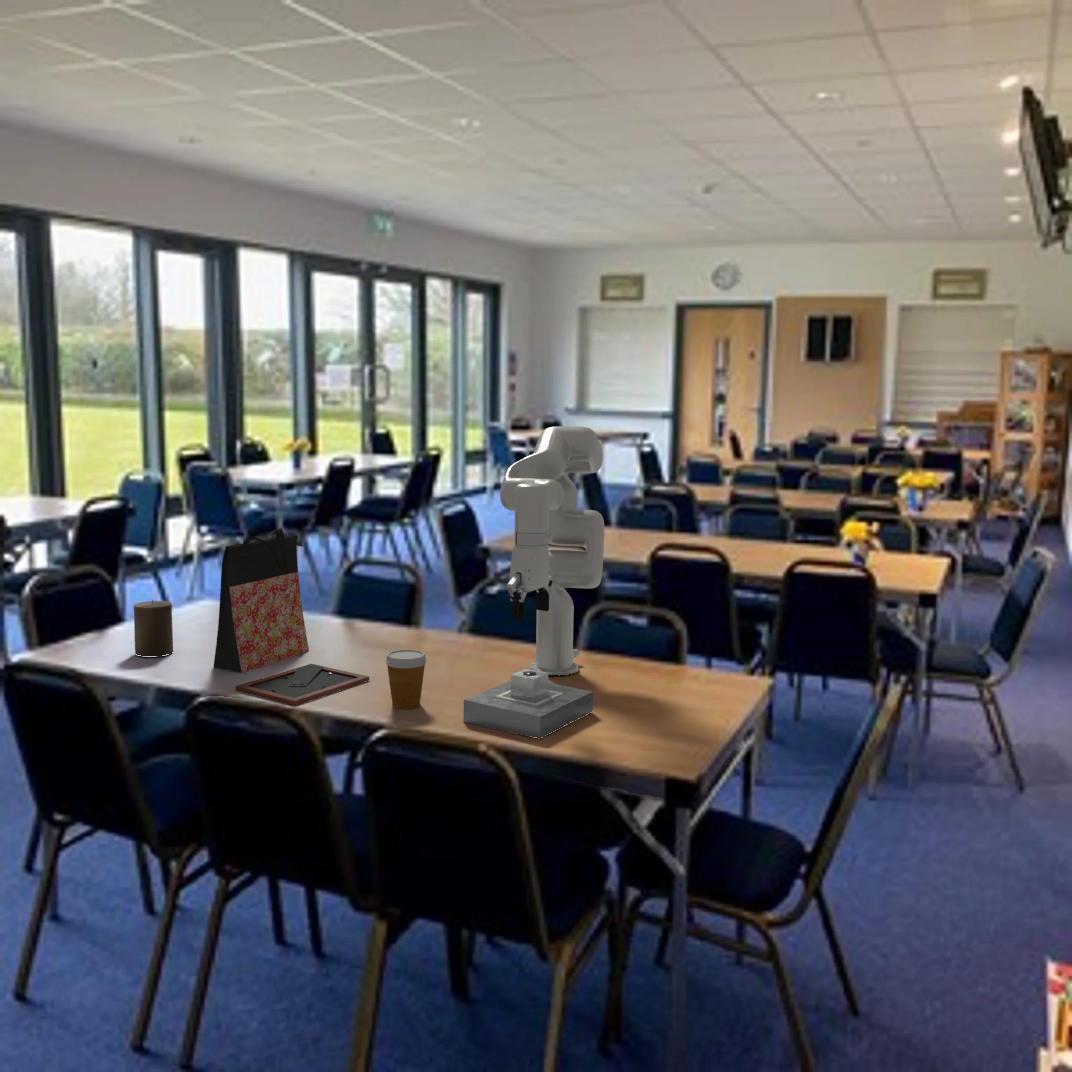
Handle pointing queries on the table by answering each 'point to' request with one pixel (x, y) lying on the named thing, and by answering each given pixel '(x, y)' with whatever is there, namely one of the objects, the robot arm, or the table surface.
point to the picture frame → (301, 684)
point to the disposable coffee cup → (406, 677)
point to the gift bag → (260, 604)
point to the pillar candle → (153, 628)
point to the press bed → (527, 709)
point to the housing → (529, 684)
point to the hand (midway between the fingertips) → (530, 614)
